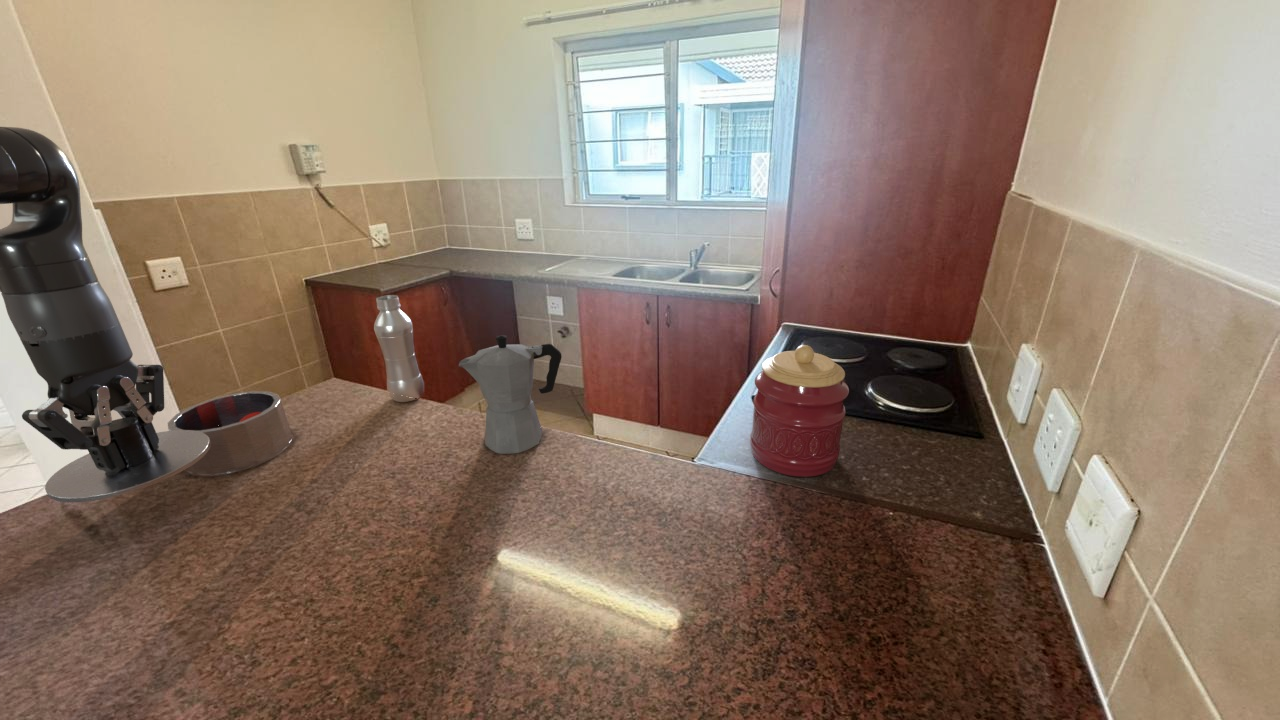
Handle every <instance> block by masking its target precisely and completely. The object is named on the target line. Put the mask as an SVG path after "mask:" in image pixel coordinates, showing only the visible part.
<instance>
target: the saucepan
mask: <svg viewBox="0 0 1280 720" xmlns="http://www.w3.org/2000/svg"><path fill="white" fill-rule="evenodd" d="M285 411H286V410H285V409H284V405H283V402H282V399H281V397H280V396H279V393H276V392H271V391H269V390H265V391H264V390H250V391H243V392H235V393H230V394H225V395H222V396H218V397H214V398H210V399H207V400H205V401H202V402H200V403H196V404H194V405H191V406H189V407H188V408H186V409H184V410H182V411H180V412H178V413H176V414H175V415H174V416H173V417H172V418H171V419H170V420H169V421H168V422H167V430H168V431H174V430H193V431H199V432H202V433H204V434H206V435H207V436H208V437H209V440H210V442H211V446H210V449H209V450H208V452H207V453H206V454H205V455H204V456H203V457H202V458H201V459H200V460H199V461H197V462H196V463H195V464H193V465H192V466H190V467H189V468H187V469H185V470H184V471H186V472H187V473H188V474H190V475H192V476H195V477H203V478H207V477H208V478H209V477H210V478H212V477H221V476H226V475H233V474H236V473H239V472H244V471H247V470H249V469H252V468H256V467H257V466H260V465H263V464H264V463H266V462H269V461H270V460H273V459H274V458H276V457H278V456H279V455H280V454H282V453H283V452H285V451H286V450H287V449H288V447H290V446H291V444H292V442H293V437H294V436H293V433H292V430H291V428H290V424H289V419H288V418H287V414H286V412H285ZM255 412H262V413H260V414H258V415H256V416H254V417H251V418H249V419H246V420H244V421H241V422H239V421H240V420H241V419H242V418H243V417H245V416H246V415H248V414H251V413H255ZM218 425H219V426H218Z"/></svg>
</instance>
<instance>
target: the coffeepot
mask: <svg viewBox="0 0 1280 720" xmlns="http://www.w3.org/2000/svg"><path fill="white" fill-rule="evenodd" d="M495 340H496V343H497V345H494V346H490V347H487V348H483V349H479V350H478V351H476V353H475V354H473V355H471V356H468V357H465V358H464V359H460V361H459V362H458V367H460V368H463V369H464V370H465V371H466V372H467V373H468V374H469V375H470V376H471V377H472V378H473V379H474V380H475V381H476V383H478V385H479V388H480V391H481V394H482V397H483V398H484V399H485V400H486V402H487V406H486V410H485V411H486V413H485V434H484V435H485V436H484V445H485V446H486V447H487V448H488V449H489V450H491V451H493V452H494V453H496V454H499V455H500V454H503V455H506V454H507V455H508V454H509V455H511V454H520V453H523V452H526V451H528V450H530V449H532V448H534V447H536V446H538V445H539V444H540V442H541V440H542V437H543V433H544V432H543V429H542V425H541V422H540V419H539V416H538V412H537V409H536V405H535V402H534V401H533V400H532V397H531V393H532V391H533V387H534V385H533V384H534V369H535V368H534V367H535V366H534V365H535V360H536V359H540V358H544V357H546V356H549V357H550V359H549V361H548V362H549V363H548V372H547V374H546V378H545V379H546V385H545V386H543V387H540V388H538V391H539V393H540V394H541V395H542V394H548V393H551V392H552V391H553V390H554V387H555V383H556V379H557V375H558V372H559V368H560V364H561V361H562V358H563V357H562V352H561V351H560V349H558V348H557V347H556V346H555V345H553V344H552V343H544V344H535V345H530V346H527V345H525V344H522V343H521V344H519V343H517V344H507V341H508V336H507V335H505V334H504V335H503V334H502V335H501V334H500V335H497V336H496V337H495ZM540 427H541V428H540Z"/></svg>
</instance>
